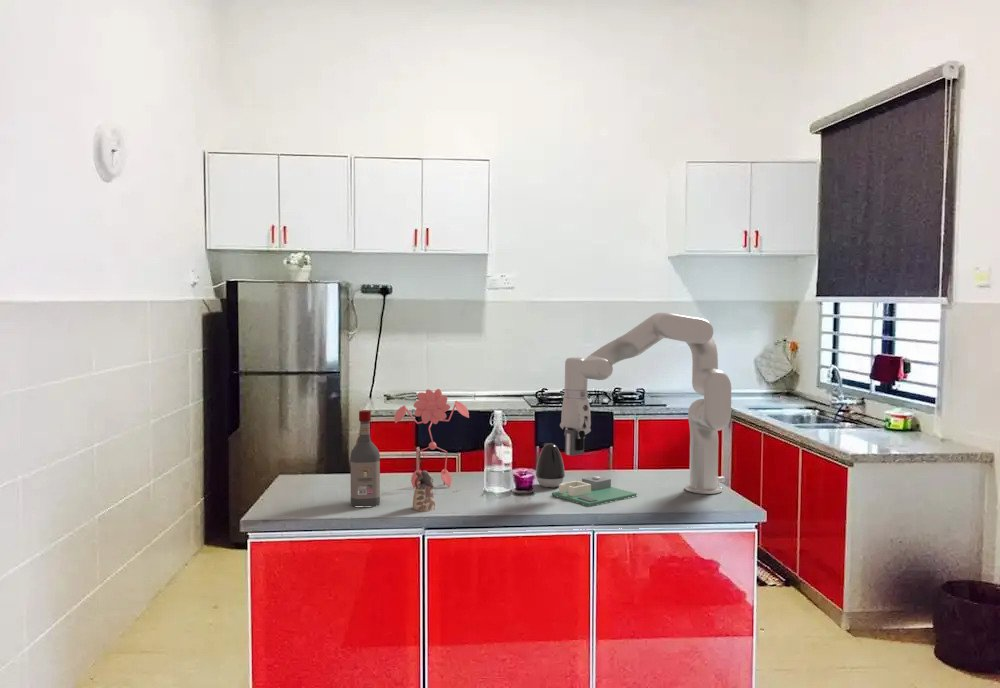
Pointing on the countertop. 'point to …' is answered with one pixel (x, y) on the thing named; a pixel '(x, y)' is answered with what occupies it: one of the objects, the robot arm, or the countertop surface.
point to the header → (575, 488)
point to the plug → (571, 442)
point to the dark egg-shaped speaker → (550, 466)
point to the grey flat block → (597, 482)
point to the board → (598, 496)
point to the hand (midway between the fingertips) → (574, 448)
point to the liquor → (365, 467)
